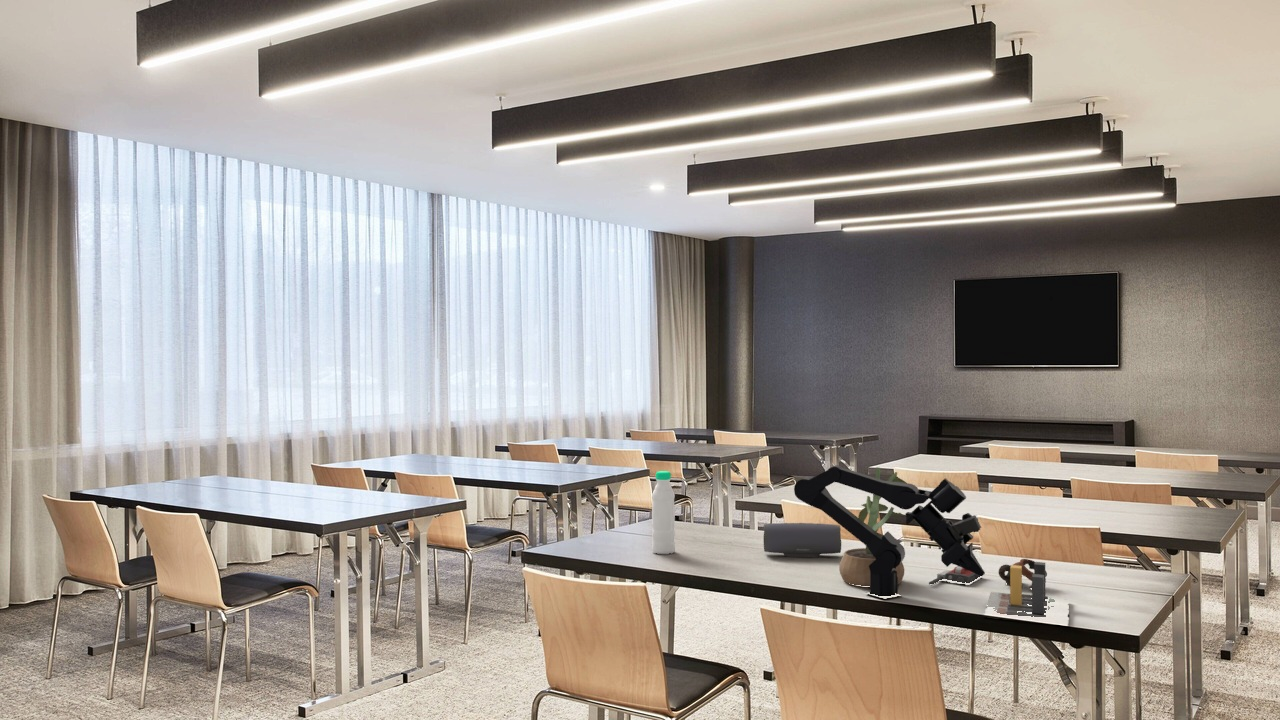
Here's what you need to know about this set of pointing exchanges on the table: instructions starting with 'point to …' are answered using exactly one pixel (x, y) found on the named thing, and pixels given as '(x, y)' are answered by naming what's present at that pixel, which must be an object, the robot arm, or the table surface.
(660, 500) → the water bottle
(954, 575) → the walkie-talkie
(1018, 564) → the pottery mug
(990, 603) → the grey ribbed panel
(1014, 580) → the tan wooden tall block
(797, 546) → the bluetooth speaker
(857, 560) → the potted plant
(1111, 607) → the table surface
